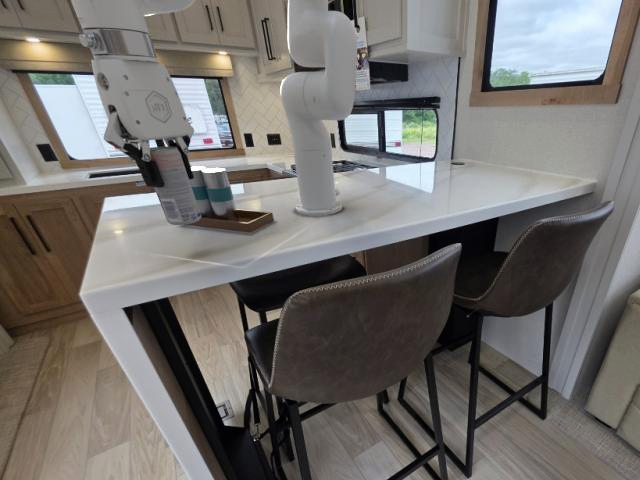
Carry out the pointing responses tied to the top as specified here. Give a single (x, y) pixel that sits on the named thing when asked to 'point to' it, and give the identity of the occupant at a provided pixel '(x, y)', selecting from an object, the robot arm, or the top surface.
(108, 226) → the top surface
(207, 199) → the can
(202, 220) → the drinks tray
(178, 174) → the energy drink
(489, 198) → the top surface
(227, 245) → the top surface
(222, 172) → the can
